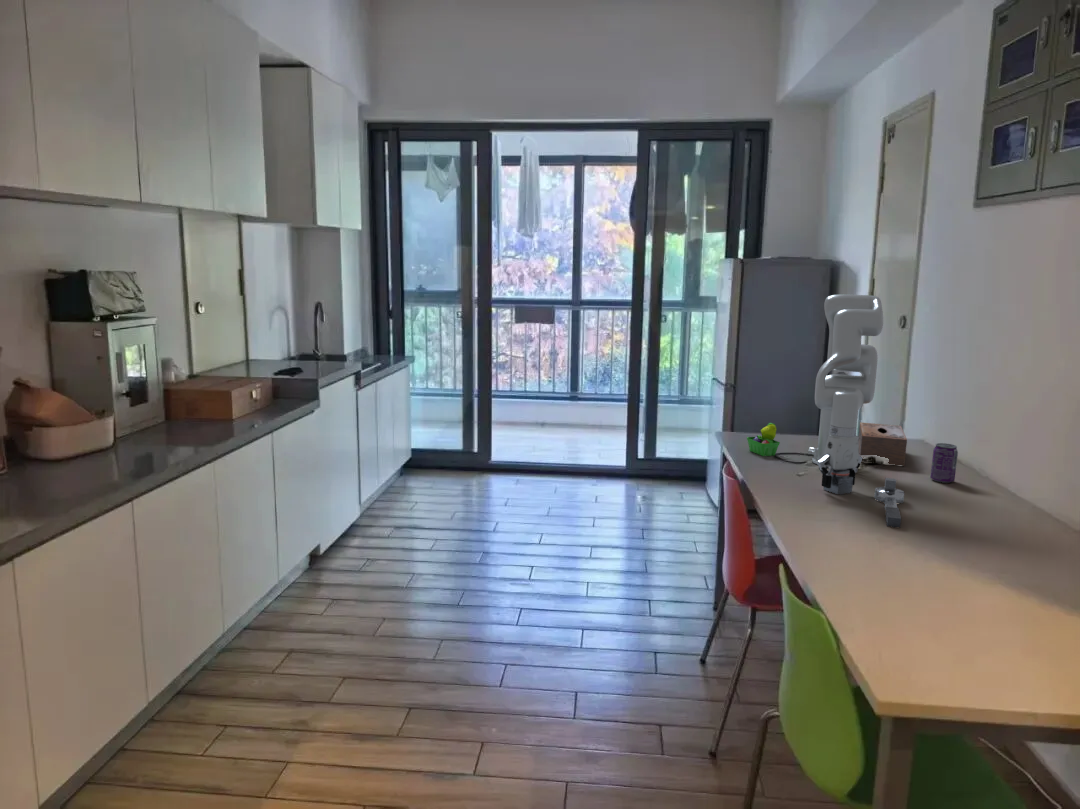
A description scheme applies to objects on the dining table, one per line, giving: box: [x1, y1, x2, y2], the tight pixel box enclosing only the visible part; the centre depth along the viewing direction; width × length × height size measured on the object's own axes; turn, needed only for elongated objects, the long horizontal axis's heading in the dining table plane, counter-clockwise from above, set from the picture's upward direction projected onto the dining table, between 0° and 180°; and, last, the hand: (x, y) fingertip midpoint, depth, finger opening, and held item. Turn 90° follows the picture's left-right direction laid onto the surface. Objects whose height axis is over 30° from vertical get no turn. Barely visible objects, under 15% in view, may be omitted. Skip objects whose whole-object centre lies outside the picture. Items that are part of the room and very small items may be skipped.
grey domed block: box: [822, 469, 853, 495], centre depth 238 cm, size 6×6×7 cm
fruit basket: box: [746, 422, 781, 457], centre depth 285 cm, size 11×9×11 cm
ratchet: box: [873, 477, 905, 528], centre depth 220 cm, size 30×8×6 cm, turn 159°
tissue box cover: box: [857, 421, 908, 467], centre depth 284 cm, size 26×14×10 cm, turn 160°
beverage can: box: [930, 442, 959, 484], centre depth 252 cm, size 7×7×12 cm
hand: (837, 485), depth 239 cm, fingers open, 9 cm apart
